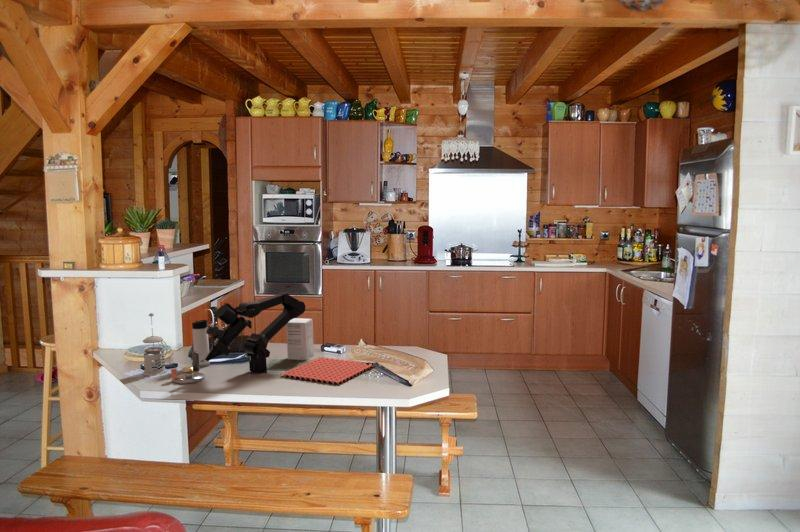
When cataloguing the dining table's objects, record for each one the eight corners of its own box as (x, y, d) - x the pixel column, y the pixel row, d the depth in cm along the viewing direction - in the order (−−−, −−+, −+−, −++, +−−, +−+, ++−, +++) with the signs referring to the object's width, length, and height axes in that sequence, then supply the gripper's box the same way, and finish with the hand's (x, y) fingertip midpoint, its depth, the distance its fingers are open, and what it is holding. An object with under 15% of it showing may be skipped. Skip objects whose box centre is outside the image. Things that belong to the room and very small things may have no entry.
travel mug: (206, 367, 257) (203, 321, 255) (191, 367, 259) (188, 321, 256) (213, 363, 263) (210, 318, 261) (199, 363, 265) (196, 318, 263)
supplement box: (295, 354, 277) (293, 317, 275) (314, 354, 275) (312, 318, 273) (287, 359, 268) (285, 322, 266) (307, 360, 266) (305, 322, 264)
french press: (137, 374, 250) (132, 314, 247) (157, 366, 261) (154, 309, 258) (155, 376, 246) (151, 316, 244) (175, 368, 257) (172, 310, 254)
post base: (204, 373, 249) (203, 361, 248) (205, 381, 237) (205, 369, 237) (171, 377, 244) (171, 365, 244) (171, 385, 233) (171, 373, 233)
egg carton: (279, 378, 242) (279, 373, 241) (320, 361, 266) (320, 356, 266) (338, 387, 229) (338, 382, 228) (375, 368, 253) (375, 363, 253)
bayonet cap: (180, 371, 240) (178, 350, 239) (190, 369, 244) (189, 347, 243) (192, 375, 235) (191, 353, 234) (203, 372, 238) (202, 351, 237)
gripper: (216, 313, 247) (189, 342, 244) (219, 321, 230) (190, 353, 227) (237, 330, 251) (210, 359, 248) (242, 339, 233) (213, 371, 231)
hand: (206, 360), depth 238 cm, fingers closed
